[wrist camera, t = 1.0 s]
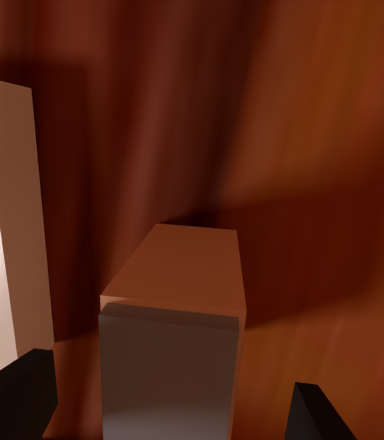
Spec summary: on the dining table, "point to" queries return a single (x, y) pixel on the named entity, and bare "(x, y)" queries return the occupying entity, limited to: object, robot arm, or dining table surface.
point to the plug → (173, 337)
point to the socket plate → (21, 232)
